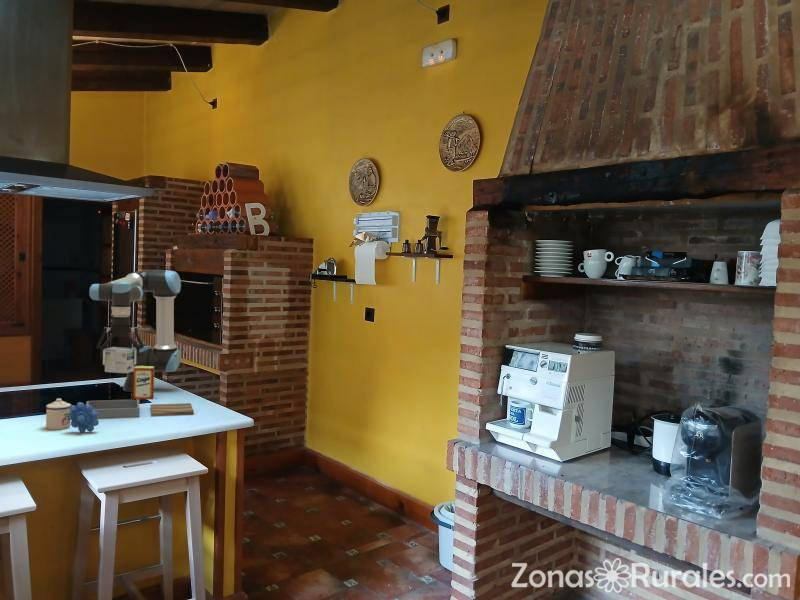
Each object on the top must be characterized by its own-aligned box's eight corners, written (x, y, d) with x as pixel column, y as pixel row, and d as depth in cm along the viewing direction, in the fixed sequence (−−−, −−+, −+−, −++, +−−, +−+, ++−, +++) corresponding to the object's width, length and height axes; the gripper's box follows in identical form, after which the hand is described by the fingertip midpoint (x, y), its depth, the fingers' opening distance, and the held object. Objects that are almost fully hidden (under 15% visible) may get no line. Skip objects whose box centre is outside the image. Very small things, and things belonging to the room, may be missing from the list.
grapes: (63, 434, 243) (63, 404, 243) (69, 430, 250) (69, 400, 249) (95, 434, 245) (96, 404, 245) (100, 430, 252) (101, 401, 251)
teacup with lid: (65, 430, 250) (66, 401, 249) (41, 430, 248) (42, 401, 248) (76, 423, 262) (77, 395, 261) (53, 422, 260) (54, 394, 260)
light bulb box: (134, 371, 284) (135, 347, 283) (126, 373, 277) (127, 349, 277) (112, 369, 285) (113, 346, 284) (103, 372, 278) (104, 348, 278)
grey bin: (86, 409, 285) (87, 400, 285) (139, 407, 294) (139, 399, 294) (83, 419, 268) (83, 410, 268) (139, 417, 276) (139, 408, 276)
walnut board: (150, 407, 295) (150, 404, 295) (190, 406, 302) (190, 403, 302) (151, 416, 279) (151, 413, 279) (193, 414, 286) (193, 411, 286)
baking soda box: (153, 396, 320) (154, 365, 319) (152, 399, 314) (153, 367, 313) (133, 396, 317) (134, 365, 316) (132, 399, 311) (133, 367, 310)
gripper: (90, 316, 272) (88, 365, 273) (150, 317, 281) (148, 365, 282) (91, 314, 279) (90, 363, 280) (150, 315, 288) (148, 362, 289)
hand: (119, 364), depth 281 cm, fingers closed on light bulb box, 12 cm apart
